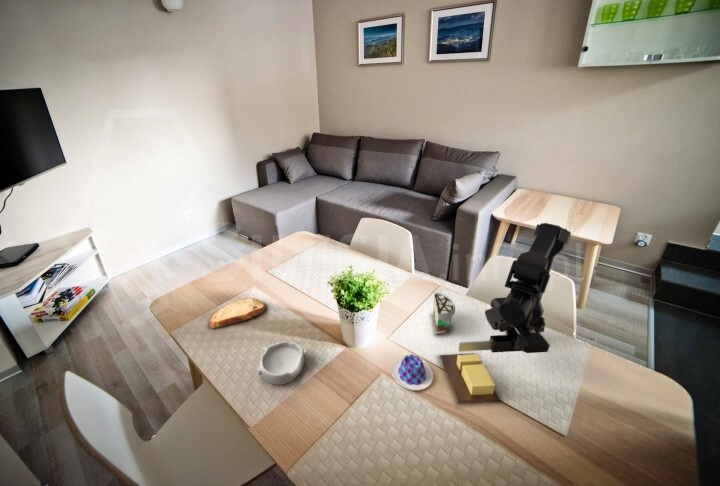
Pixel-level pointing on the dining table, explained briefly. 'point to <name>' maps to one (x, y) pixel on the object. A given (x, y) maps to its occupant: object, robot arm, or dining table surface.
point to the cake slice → (442, 313)
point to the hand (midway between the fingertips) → (512, 345)
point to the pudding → (412, 372)
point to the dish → (282, 362)
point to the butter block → (477, 379)
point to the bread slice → (237, 312)
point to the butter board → (462, 382)
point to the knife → (490, 344)
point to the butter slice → (468, 360)
